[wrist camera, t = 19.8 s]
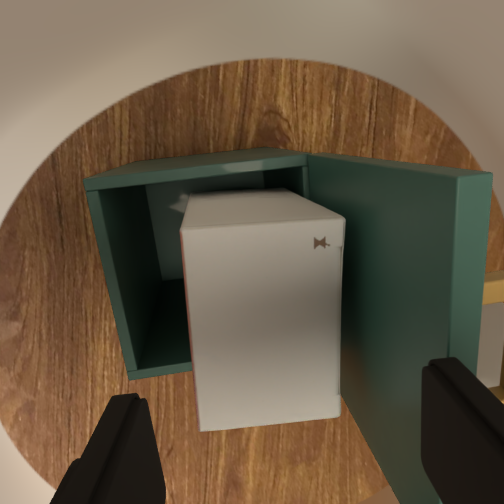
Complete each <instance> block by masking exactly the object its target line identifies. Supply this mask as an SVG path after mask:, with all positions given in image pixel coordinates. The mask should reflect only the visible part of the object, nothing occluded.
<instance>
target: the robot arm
mask: <svg viewBox="0 0 504 504" xmlns="http://www.w3.org/2000/svg"><path fill="white" fill-rule="evenodd" d="M421 462H422V465H423V468H424V471H425V473H426V475H427V476H428V478H429V480H430V482H431V484H432V485H433V487H434V489H435V491H436V493H437V494H438V496H439V498H440V500H441V501H442V503H443V504H504V404H503V403H502V402H501V401H500V400H499V399H498V398H497V397H496V396H495V395H494V394H493V393H492V392H491V391H490V390H489V389H488V388H487V387H486V386H485V385H484V384H483V383H482V382H481V381H480V380H479V379H478V378H477V377H476V376H475V375H474V374H473V373H472V372H471V371H470V370H469V369H468V368H467V367H466V366H465V365H464V364H463V363H462V362H461V361H460V360H459V359H457V358H456V357H447V358H438V359H431V360H429V363H428V366H424V367H423V368H422V380H421ZM165 499H166V486H165V480H164V476H163V471H162V467H161V462H160V458H159V453H158V448H157V444H156V439H155V435H154V430H153V426H152V421H151V416H150V412H149V407H148V403H147V400H146V399H145V398H142V399H140V397H139V395H138V394H137V393H131V394H122V395H114V396H112V397H111V399H110V401H109V403H108V405H107V407H106V408H105V410H104V412H103V414H102V416H101V418H100V420H99V422H98V424H97V426H96V428H95V430H94V432H93V434H92V436H91V438H90V440H89V442H88V444H87V446H86V448H85V450H84V452H83V454H82V456H81V458H78V459H76V460H74V461H73V462H72V463H71V465H70V466H69V468H68V470H67V472H66V474H65V475H64V477H63V479H62V481H61V483H60V485H59V487H58V489H57V491H56V492H55V494H54V497H53V498H52V500H51V502H50V504H165Z"/></svg>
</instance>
